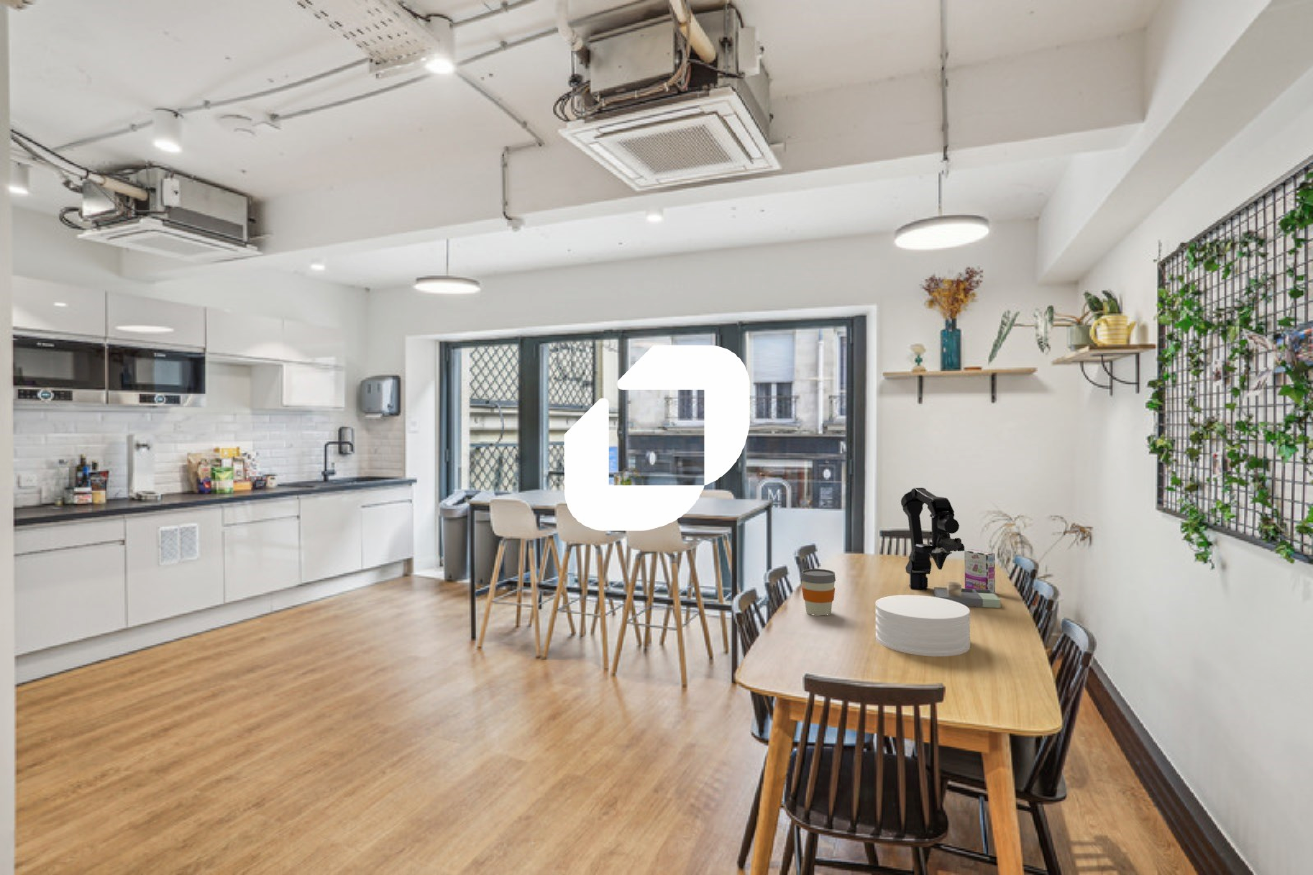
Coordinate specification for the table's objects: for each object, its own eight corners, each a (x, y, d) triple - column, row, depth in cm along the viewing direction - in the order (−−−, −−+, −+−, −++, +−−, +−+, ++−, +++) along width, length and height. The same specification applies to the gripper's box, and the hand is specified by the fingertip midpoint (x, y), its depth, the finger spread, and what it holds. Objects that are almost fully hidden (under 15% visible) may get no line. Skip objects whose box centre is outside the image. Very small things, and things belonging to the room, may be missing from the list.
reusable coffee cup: (832, 608, 249) (832, 568, 249) (838, 617, 237) (838, 576, 237) (799, 607, 251) (798, 568, 251) (803, 617, 238) (803, 576, 238)
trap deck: (940, 604, 252) (940, 596, 252) (934, 594, 268) (934, 587, 268) (1000, 607, 247) (1000, 600, 247) (990, 597, 262) (990, 589, 262)
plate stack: (912, 661, 193) (911, 622, 193) (858, 632, 220) (858, 598, 220) (990, 651, 200) (990, 614, 200) (929, 625, 227) (929, 592, 227)
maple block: (948, 596, 253) (948, 584, 253) (946, 593, 258) (946, 581, 258) (961, 596, 252) (961, 585, 252) (959, 593, 256) (959, 582, 256)
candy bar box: (995, 593, 268) (995, 553, 268) (987, 594, 266) (987, 554, 266) (972, 587, 279) (972, 548, 278) (964, 588, 276) (963, 549, 276)
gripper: (931, 533, 248) (932, 575, 249) (974, 531, 253) (974, 572, 253) (913, 529, 259) (914, 569, 259) (954, 527, 264) (955, 566, 264)
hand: (939, 569), depth 259 cm, fingers closed
